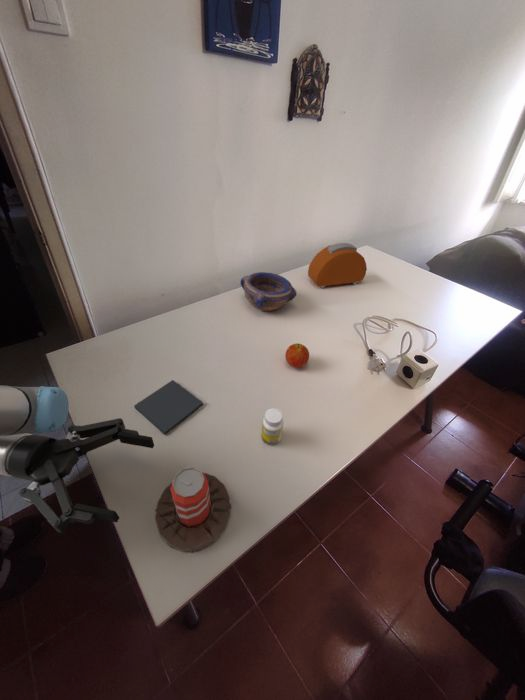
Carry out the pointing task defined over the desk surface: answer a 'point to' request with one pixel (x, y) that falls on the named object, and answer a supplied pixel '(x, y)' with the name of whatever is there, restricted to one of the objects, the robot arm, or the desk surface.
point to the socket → (194, 536)
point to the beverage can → (191, 496)
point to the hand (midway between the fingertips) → (136, 476)
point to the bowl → (267, 290)
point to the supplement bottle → (272, 426)
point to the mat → (168, 406)
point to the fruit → (297, 355)
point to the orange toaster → (337, 265)
